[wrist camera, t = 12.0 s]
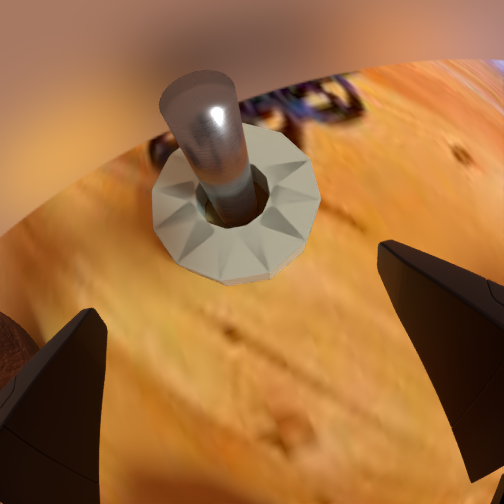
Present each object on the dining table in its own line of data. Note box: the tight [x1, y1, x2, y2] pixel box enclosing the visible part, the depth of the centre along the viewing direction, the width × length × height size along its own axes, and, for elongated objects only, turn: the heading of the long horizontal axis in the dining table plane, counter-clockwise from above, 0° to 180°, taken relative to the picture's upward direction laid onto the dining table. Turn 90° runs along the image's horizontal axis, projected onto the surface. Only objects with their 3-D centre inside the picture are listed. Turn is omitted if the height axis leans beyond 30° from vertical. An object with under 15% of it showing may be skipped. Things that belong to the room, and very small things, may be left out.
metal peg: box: [159, 70, 258, 227], centre depth 17 cm, size 3×3×13 cm
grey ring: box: [152, 123, 321, 286], centre depth 21 cm, size 12×12×3 cm
